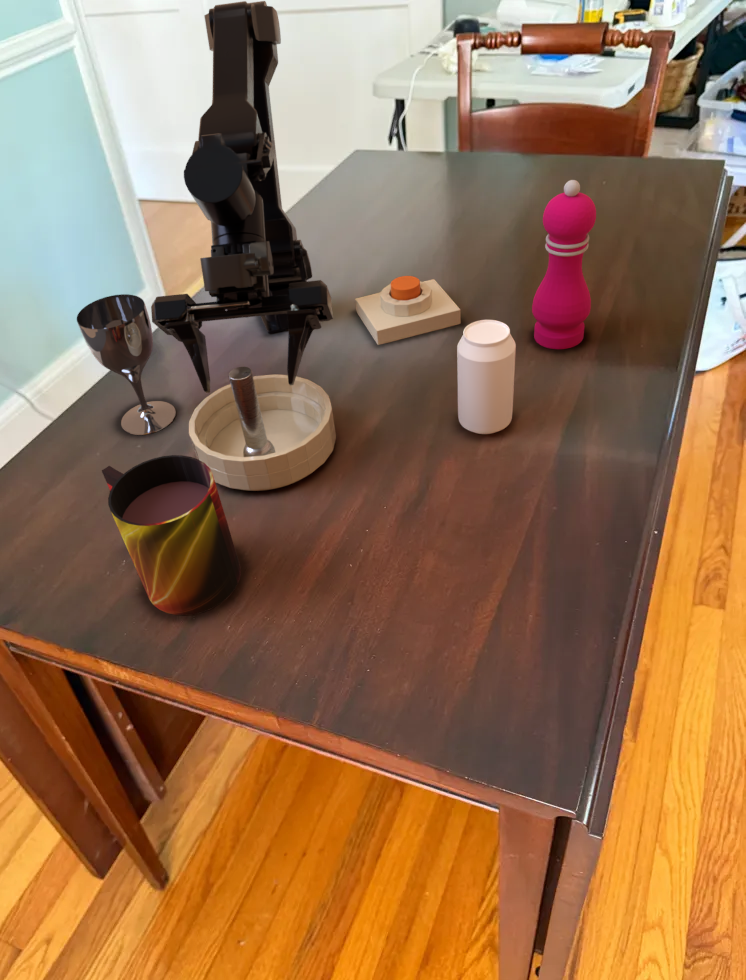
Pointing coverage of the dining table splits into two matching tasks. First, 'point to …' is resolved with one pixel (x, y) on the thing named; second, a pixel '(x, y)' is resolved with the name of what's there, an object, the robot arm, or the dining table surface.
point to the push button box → (407, 313)
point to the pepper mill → (564, 270)
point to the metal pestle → (249, 413)
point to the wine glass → (125, 353)
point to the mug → (175, 532)
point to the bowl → (288, 425)
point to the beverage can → (485, 376)
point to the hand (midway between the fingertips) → (248, 388)
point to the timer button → (405, 288)
